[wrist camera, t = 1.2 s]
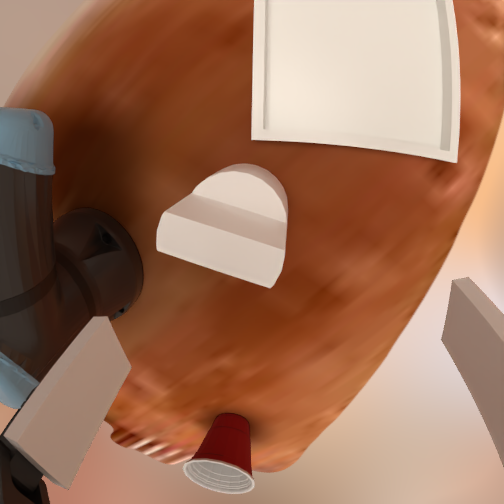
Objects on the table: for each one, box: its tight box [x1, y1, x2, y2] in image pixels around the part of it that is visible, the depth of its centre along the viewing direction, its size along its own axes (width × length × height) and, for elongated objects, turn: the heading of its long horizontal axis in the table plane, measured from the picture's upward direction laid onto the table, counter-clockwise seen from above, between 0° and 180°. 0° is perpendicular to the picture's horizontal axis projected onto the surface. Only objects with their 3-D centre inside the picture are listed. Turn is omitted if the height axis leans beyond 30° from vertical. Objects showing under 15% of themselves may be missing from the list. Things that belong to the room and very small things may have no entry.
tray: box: [251, 0, 460, 163], centre depth 22 cm, size 20×20×3 cm
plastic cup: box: [183, 413, 255, 494], centre depth 40 cm, size 11×11×12 cm
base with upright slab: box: [156, 163, 288, 288], centre depth 26 cm, size 9×9×12 cm
